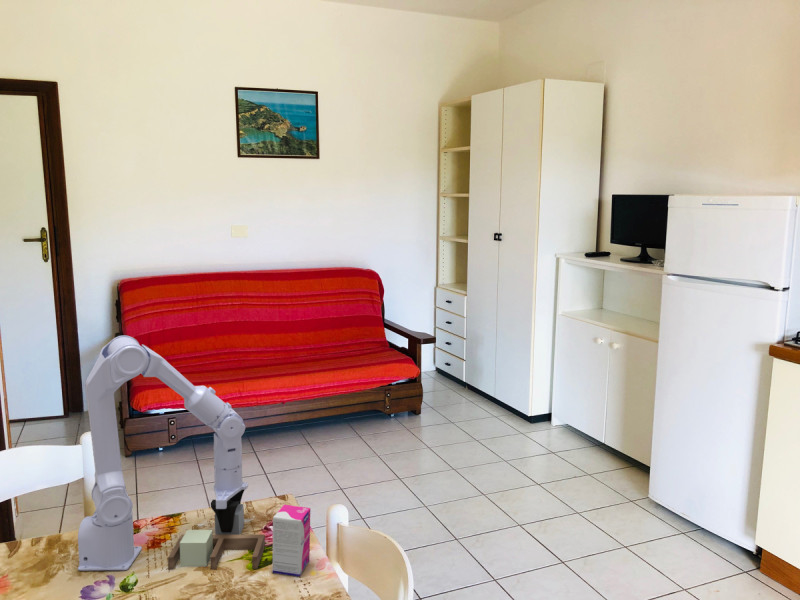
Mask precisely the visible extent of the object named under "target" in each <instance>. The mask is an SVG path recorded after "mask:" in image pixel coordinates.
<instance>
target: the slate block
mask: <svg viewBox="0 0 800 600" xmlns="http://www.w3.org/2000/svg"><path fill="white" fill-rule="evenodd" d="M244 507H245V506H244V503H240V504H238V506H237V508H236V511H235V516H234V524H233V529H232V532H231V533H222V532H221V529H220V526H219V522H218V519H217V516H216V514H215V513H214V535H242V534H241V533H242V531H243V529H244V527H245V519H244V518H245V517H244V516H245V514H244V513H245V511H244Z"/></svg>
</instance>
